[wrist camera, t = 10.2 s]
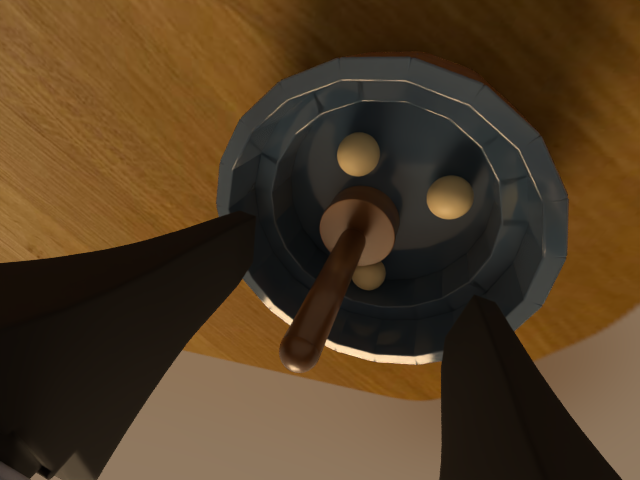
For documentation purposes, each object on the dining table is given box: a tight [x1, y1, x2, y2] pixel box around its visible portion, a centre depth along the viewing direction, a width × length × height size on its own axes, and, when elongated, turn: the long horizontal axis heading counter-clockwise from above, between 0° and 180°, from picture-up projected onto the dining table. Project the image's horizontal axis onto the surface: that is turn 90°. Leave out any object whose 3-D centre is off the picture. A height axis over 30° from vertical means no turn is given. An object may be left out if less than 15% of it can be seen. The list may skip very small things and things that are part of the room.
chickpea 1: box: [337, 132, 380, 176], centre depth 13 cm, size 2×2×2 cm
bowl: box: [216, 51, 569, 365], centre depth 13 cm, size 12×12×5 cm
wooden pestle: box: [279, 186, 399, 373], centre depth 12 cm, size 4×4×9 cm
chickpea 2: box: [352, 261, 386, 290], centre depth 16 cm, size 2×2×2 cm
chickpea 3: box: [427, 175, 474, 219], centre depth 13 cm, size 2×2×2 cm
